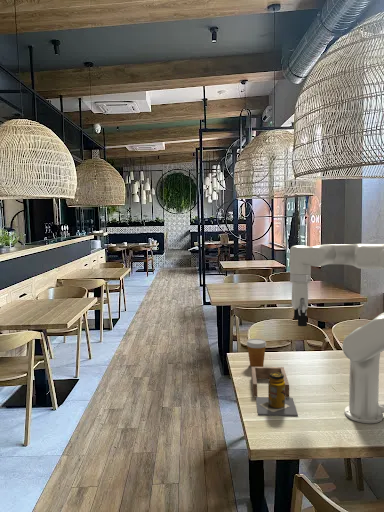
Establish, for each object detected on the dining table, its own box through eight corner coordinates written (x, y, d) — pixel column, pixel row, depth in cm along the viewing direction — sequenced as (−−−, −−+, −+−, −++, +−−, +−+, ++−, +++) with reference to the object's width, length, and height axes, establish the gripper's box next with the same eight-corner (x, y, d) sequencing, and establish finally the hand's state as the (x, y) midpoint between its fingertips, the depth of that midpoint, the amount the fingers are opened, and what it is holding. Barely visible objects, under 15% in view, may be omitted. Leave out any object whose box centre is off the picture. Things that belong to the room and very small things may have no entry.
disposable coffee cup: (245, 362, 204) (245, 338, 203) (265, 362, 203) (265, 338, 202) (247, 369, 194) (247, 344, 193) (268, 369, 194) (267, 343, 193)
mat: (292, 399, 161) (292, 397, 161) (297, 416, 147) (297, 414, 147) (256, 398, 162) (256, 397, 162) (257, 415, 148) (257, 413, 148)
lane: (283, 378, 182) (283, 367, 182) (289, 397, 163) (289, 384, 162) (251, 377, 184) (251, 366, 183) (253, 396, 164) (253, 384, 164)
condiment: (290, 406, 153) (289, 375, 152) (273, 412, 149) (272, 380, 148) (276, 399, 159) (275, 369, 158) (259, 405, 155) (259, 374, 154)
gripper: (287, 275, 165) (287, 317, 167) (293, 281, 148) (293, 328, 150) (306, 275, 165) (306, 317, 166) (314, 281, 147) (314, 328, 149)
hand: (300, 322), depth 158 cm, fingers open, 9 cm apart
